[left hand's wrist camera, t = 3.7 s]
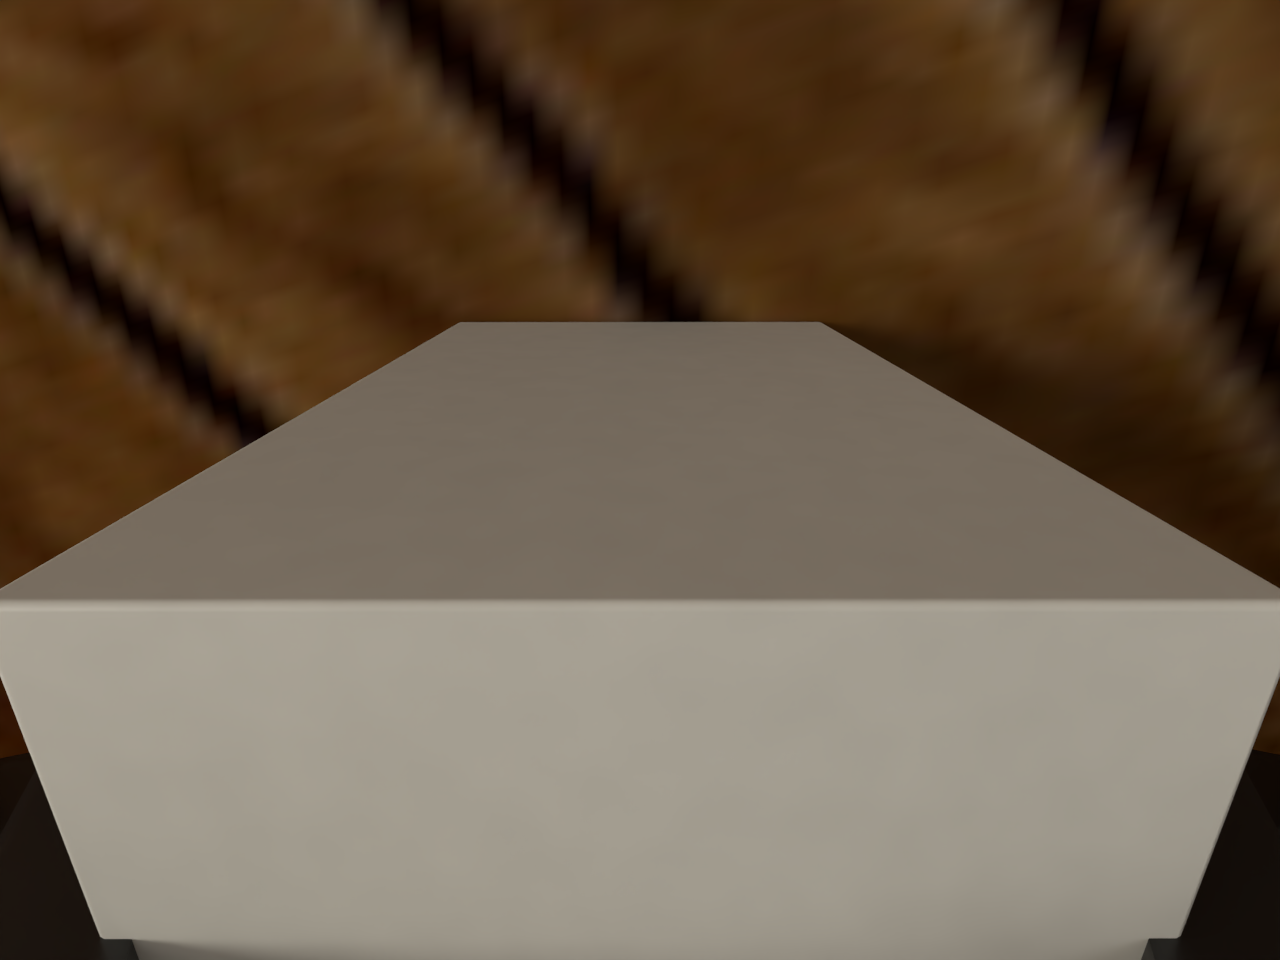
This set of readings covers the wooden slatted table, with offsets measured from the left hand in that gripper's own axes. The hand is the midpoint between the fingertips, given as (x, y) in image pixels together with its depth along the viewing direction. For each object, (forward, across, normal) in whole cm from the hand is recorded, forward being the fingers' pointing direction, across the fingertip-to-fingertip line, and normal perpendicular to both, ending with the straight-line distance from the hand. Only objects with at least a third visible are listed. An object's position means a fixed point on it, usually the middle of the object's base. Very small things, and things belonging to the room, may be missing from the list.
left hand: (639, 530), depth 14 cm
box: (+2, 0, -8) cm, 8 cm away
